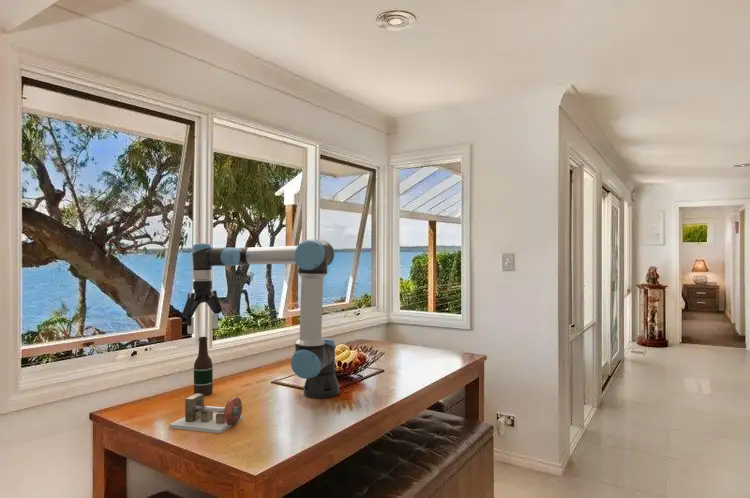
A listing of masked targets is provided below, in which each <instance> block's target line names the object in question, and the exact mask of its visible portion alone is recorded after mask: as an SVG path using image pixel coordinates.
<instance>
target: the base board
mask: <svg viewBox="0 0 750 498" xmlns="http://www.w3.org/2000/svg"><path fill="white" fill-rule="evenodd" d="M216 414H218V412H213V419H212V420H210V421H208V422H201V418H200V419H198V420H196V421H194V422H185V416H184V417H181V418H179V419H177V420H175V421H174V422H171V423H170V424H168V425H169V427H168V428H169V429H176V430H186V431H194V432H203V433H211V434H212V433H213V434H221V433H224V432H225V431H227V430H228V429H230V428H231V427H233V426H234V425H227V424H226V422H224V423H222V424H220V423H216ZM243 419H244V415H241V417H240V419H239V421H238V422H237V424H238V423H240V422H241V421H243Z"/></svg>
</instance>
